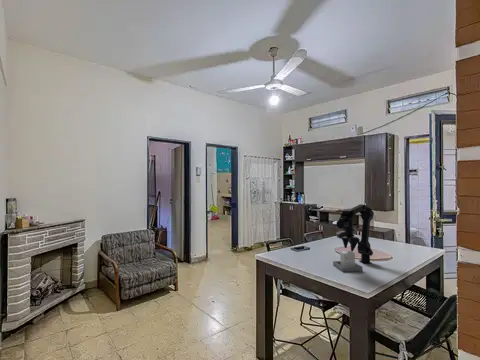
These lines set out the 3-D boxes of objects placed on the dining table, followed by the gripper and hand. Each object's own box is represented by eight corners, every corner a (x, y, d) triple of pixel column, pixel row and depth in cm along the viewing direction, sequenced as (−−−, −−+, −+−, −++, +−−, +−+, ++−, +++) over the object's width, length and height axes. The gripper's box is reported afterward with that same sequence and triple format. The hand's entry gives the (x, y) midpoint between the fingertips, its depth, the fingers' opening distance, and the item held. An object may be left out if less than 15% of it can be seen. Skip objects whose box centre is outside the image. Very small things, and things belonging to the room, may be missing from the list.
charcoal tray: (333, 265, 187) (333, 261, 187) (352, 264, 188) (351, 260, 188) (342, 272, 173) (342, 267, 173) (362, 271, 174) (362, 267, 174)
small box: (351, 266, 183) (351, 251, 183) (355, 268, 178) (355, 253, 178) (340, 266, 183) (340, 251, 183) (343, 268, 177) (343, 253, 177)
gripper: (331, 225, 189) (331, 246, 189) (343, 229, 171) (343, 253, 171) (346, 224, 190) (346, 246, 190) (359, 229, 172) (360, 253, 171)
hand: (348, 249), depth 181 cm, fingers open, 9 cm apart
